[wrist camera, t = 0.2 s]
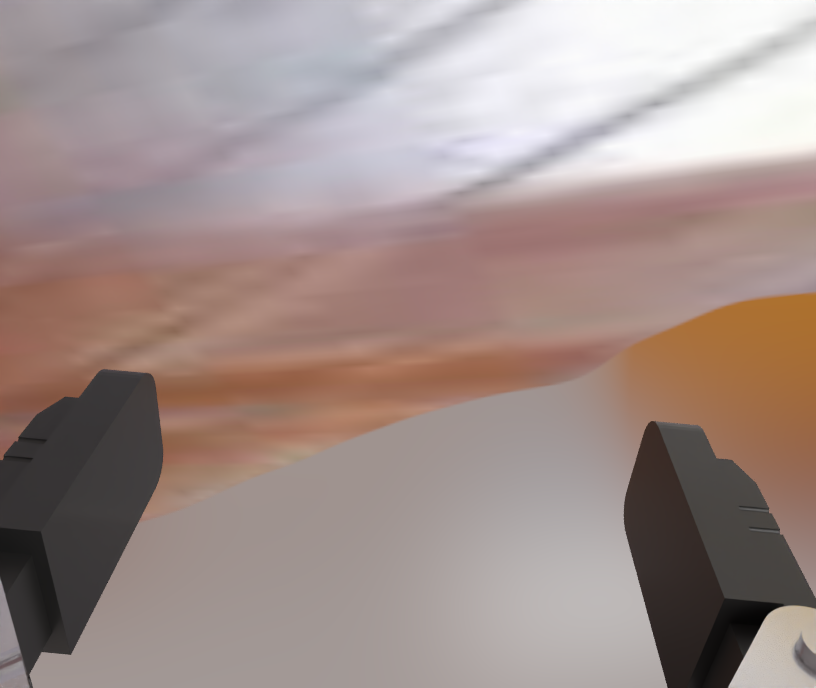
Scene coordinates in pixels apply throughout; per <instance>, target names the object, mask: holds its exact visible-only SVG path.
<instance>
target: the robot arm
mask: <svg viewBox="0 0 816 688" xmlns="http://www.w3.org/2000/svg"><path fill="white" fill-rule="evenodd" d="M162 462H163V444H162V436H161V428H160V419H159V411H158V402H157V394H156V386H155V381H154V378H153V376H152V375H151V374H149V373H139V372H128V371H117V370H107V369H103V370H101V371H99V372H98V373H97V375H96V376H95V377H94V379H93V380H92V381H91V383H90V384H89V385H88V387H87V388H86V389H85V390H84V392H83V393H82V394H81V396H80V397H79V398H73V397H64V398H62V399H61V400H59V401H58V402H56V403H55V404H53V405H51V406H50V407H48V408H47V409H45V410H43V411H42V412H40V413H39V414H37V415H36V416H35V417H34V419H33V420H32V421H31V422H30V424H29V425H28V426H27V427H26V429H25V430H24V431H23V432H22V433H21V435H20V436H19V440H18V442H16V441H15V442H14V443H13V445H12V446H11V447H10V448H9V449H8V451H7V452H6V453H5V454H4V459H3V460H0V688H33V686H32V682H31V679H30V676H29V674H30V672H31V670H32V668H33V667H34V665H35V663H36V661H37V659H38V657H39V656H40V654H41V652H48V653H59V654H69V655H71V653H72V651H73V650H74V648H75V646H76V644H77V642H78V640H79V638H80V635H81V634H82V632H83V630H84V628H85V626H86V624H87V622H88V620H89V618H90V616H91V614H92V612H93V610H94V608H95V606H96V604H97V602H98V600H99V598H100V596H101V594H102V592H103V590H104V589H105V586H106V584H107V583H108V581H109V579H110V577H111V575H112V573H113V571H114V569H115V567H116V565H117V563H118V561H119V559H120V557H121V555H122V553H123V551H124V549H125V547H126V545H127V543H128V541H129V539H130V537H131V535H132V534H133V531H134V530H135V527H136V526H137V524H138V522H139V520H140V518H141V516H142V514H143V512H144V510H145V508H146V506H147V504H148V502H149V500H150V498H151V496H152V494H153V492H154V490H155V488H156V486H157V484H158V481H159V478H160V474H161V469H162ZM624 525H625V531H626V535H627V539H628V542H629V546H630V550H631V553H632V557H633V561H634V565H635V569H636V572H637V576H638V580H639V583H640V587H641V591H642V595H643V598H644V602H645V605H646V609H647V613H648V617H649V620H650V624H651V628H652V632H653V635H654V639H655V642H656V646H657V650H658V653H659V657H660V661H661V665H662V668H663V672H664V676H665V680H666V683H667V687H668V688H816V598H815V596H814V594H813V592H812V590H811V588H810V587H809V585H808V583H807V581H806V579H805V577H804V575H803V573H802V571H801V569H800V567H799V565H798V564H797V561H796V559H795V557H794V556H793V554H792V552H791V550H790V548H789V546H788V544H787V542H786V540H785V538H784V536H783V535H780V529H779V527H778V525H777V523H776V521H775V519H774V517H773V515H772V514H771V513H769V507H768V505H767V503H766V501H765V499H764V498H763V496H762V494H761V492H760V490H759V488H758V486H757V484H756V483H755V482H754V481H753V480H752V479H751V478H750V477H749V476H748V475H747V474H746V473H745V472H744V471H743V470H742V469H741V468H740V467H739V466H737V465H736V464H735V463H734V462H733V461H732V460H728V459H717V458H716V456H715V454H714V452H713V450H712V448H711V446H710V444H709V441H708V439H707V437H706V435H705V433H704V431H703V429H702V428H701V427H700V426H698V425H688V424H678V423H667V422H656V421H651V422H650V423H649V424H648V425H647V427H646V429H645V432H644V435H643V438H642V441H641V445H640V448H639V451H638V455H637V458H636V462H635V465H634V468H633V472H632V475H631V478H630V482H629V485H628V489H627V492H626V497H625V504H624Z"/></svg>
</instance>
